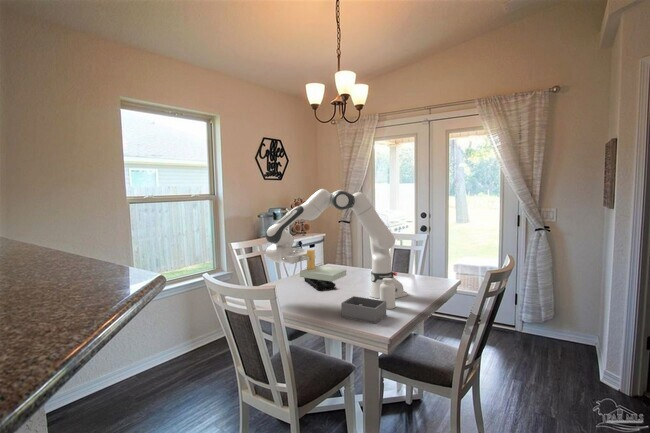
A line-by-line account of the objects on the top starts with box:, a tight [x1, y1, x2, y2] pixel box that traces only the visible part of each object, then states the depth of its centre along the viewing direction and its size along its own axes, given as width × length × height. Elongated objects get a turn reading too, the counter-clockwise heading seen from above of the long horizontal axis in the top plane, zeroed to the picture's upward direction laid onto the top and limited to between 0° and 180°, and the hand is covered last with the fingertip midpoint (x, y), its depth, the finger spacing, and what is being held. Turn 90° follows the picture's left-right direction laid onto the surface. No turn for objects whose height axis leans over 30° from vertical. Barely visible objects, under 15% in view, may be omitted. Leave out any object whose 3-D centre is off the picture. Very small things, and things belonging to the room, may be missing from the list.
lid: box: [299, 249, 347, 283], centre depth 184 cm, size 19×14×13 cm
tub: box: [340, 295, 387, 324], centre depth 173 cm, size 18×13×7 cm
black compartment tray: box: [303, 277, 336, 292], centre depth 233 cm, size 18×30×4 cm, turn 34°
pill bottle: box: [379, 278, 396, 310], centre depth 186 cm, size 8×8×15 cm
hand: (312, 257), depth 187 cm, fingers closed on lid, 3 cm apart
